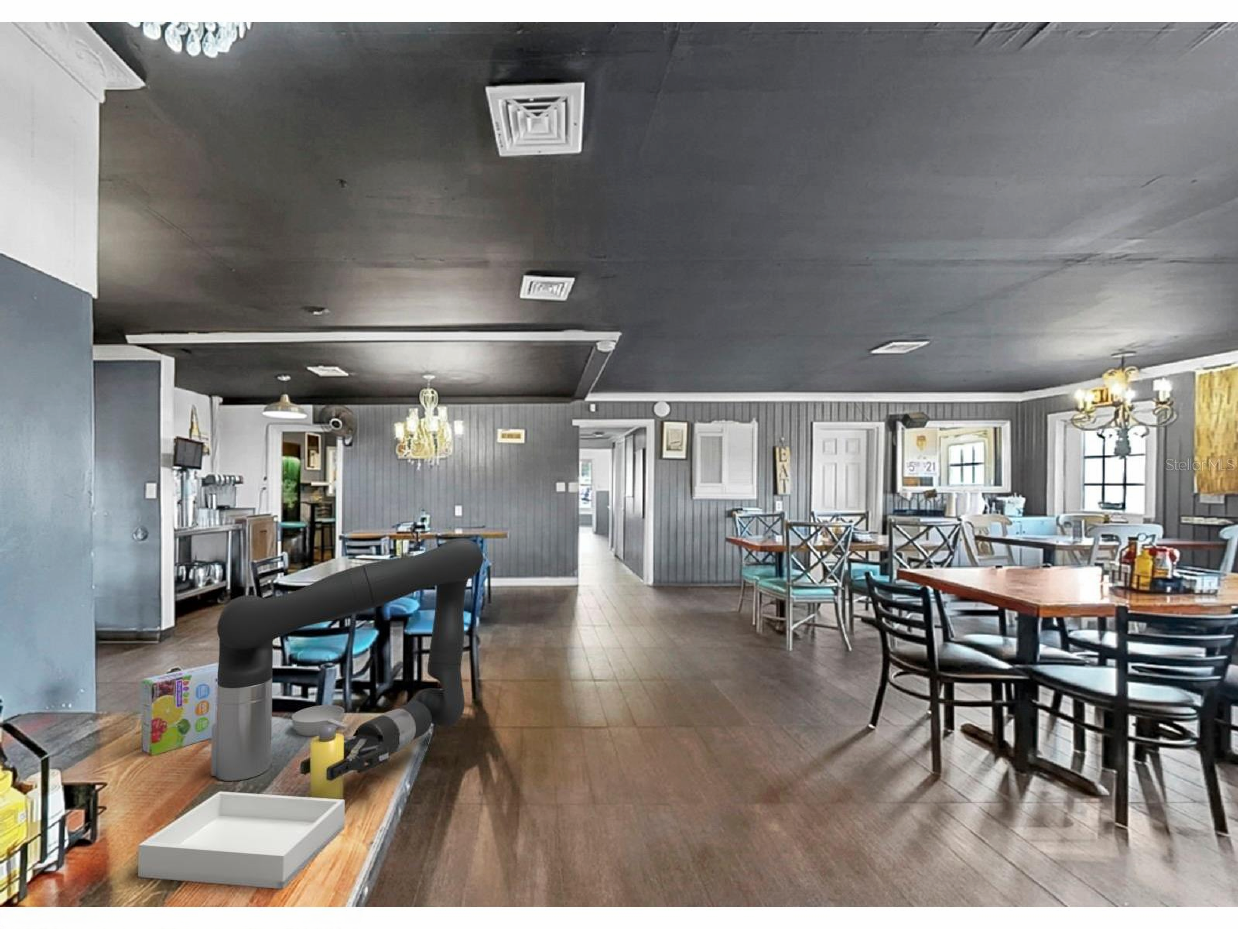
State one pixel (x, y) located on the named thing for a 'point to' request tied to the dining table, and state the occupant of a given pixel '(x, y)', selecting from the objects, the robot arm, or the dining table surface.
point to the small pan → (317, 719)
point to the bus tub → (243, 840)
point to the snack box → (179, 708)
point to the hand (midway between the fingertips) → (315, 771)
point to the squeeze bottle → (326, 763)
